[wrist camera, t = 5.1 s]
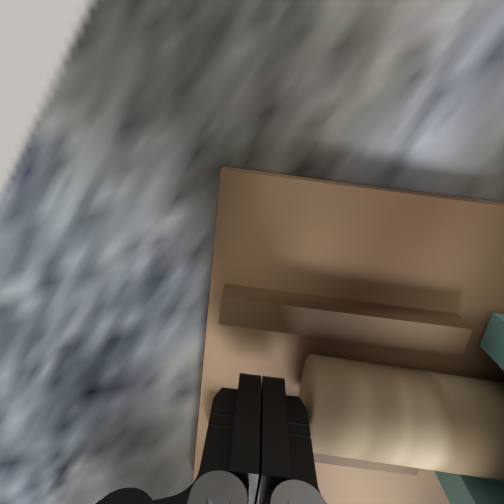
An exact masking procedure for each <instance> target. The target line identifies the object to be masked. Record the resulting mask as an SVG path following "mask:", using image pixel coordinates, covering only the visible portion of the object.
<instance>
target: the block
mask: <svg viewBox="0 0 504 504" xmlns="http://www.w3.org/2000/svg"><path fill="white" fill-rule="evenodd" d="M480 346H481V347H482V348H483V350H484V351H485V352H486V353H487V354H488V355H489V356H490V357H491V358H492V359H493V360H494V361H495V362H496V363H497V364H498V365H499V367H500V368H501V369H502V370H503V371H504V314H499V313H492V316H491V318H490V321H489V324H488V326H487V329H486V331H485V334H484V336H483V339H482V341H481V344H480ZM435 473H436V475H437V477H438V480H439V482H440V484H441V486H442V488H443V490H444V492H445V494H446V497H447V499H448V501H449V503H450V504H504V481H502V480H495V479H488V478H481V477H474V476H468V475H461V474H454V473H447V472H440V471H435Z"/></svg>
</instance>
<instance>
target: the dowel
mask: <svg viewBox="0 0 504 504" xmlns="http://www.w3.org/2000/svg"><path fill="white" fill-rule="evenodd" d="M299 397H300V399H301V400H302V402H303V404H304V405H305V407H306V408H307V412H308V419H309V426H310V433H311V440H312V448H313V453H317V454H324V455H331V456H338V457H345V458H351V459H358V460H365V461H372V462H379V463H386V464H392V465H399V466H406V467H413V468H420V469H427V470H433V471H440V472H447V473H454V474H461V475H468V476H474V477H481V478H488V479H495V480H502V481H504V383H503V382H497V381H490V380H483V379H476V378H470V377H463V376H456V375H449V374H443V373H436V372H429V371H422V370H416V369H409V368H402V367H395V366H389V365H382V364H375V363H369V362H362V361H355V360H348V359H342V358H335V357H328V356H321V355H315V354H310V355H308V357H307V359H306V361H305V364H304V367H303V371H302V376H301V382H300V389H299Z"/></svg>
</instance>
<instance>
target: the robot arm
mask: <svg viewBox="0 0 504 504" xmlns="http://www.w3.org/2000/svg"><path fill="white" fill-rule="evenodd" d="M96 504H327V503H326V502H325V500H324V498H323V497H322V495H321V493H320V491H319V488H318V483H317V476H316V469H315V462H314V455H313V448H312V440H311V433H310V426H309V419H308V412H307V408H306V407H305V405H304V404H303V402H302V400H301V399H300V397H297V396H289V395H286V390H285V379H284V378H278V377H269V376H262V381H261V375H253V374H244V373H240V375H239V383H238V389H232V388H224V387H222V388H221V389H220V390H219V392H218V393H217V394H216V395H215V397H214V398H213V402H212V407H211V413H210V418H209V423H208V428H207V433H206V438H205V443H204V448H203V454H202V459H201V464H200V469H199V472H198V475H197V477H196V479H195V480H194V482H193V483H192V484H191V485H190V486H189V487H188V488H187V489H186V490H184V491H183V492H181V493H179V494H177V495H175V496H171V497H167V498H163V499H158V500H154V501H152V499H151V498H150V496H149V495H148V494H147V493H145V492H144V491H142V490H140V489H137V488H122V489H119V490H116V491H114V492H111V493H110V494H108V495H107V496H105V497H104V498H103V499H101V500H100V501H98V502H97V503H96Z"/></svg>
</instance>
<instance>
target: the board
mask: <svg viewBox="0 0 504 504" xmlns="http://www.w3.org/2000/svg"><path fill="white" fill-rule="evenodd" d="M492 313H499V314H504V202H496V201H488V200H480V199H472V198H465V197H457V196H449V195H441V194H433V193H426V192H418V191H410V190H402V189H394V188H387V187H379V186H371V185H363V184H355V183H348V182H340V181H332V180H324V179H316V178H309V177H301V176H293V175H285V174H277V173H270V172H262V171H254V170H246V169H238V168H231V167H223V168H222V169H221V170H220V180H219V192H218V203H217V214H216V226H215V237H214V248H213V259H212V271H211V282H210V293H209V305H208V316H207V327H206V339H205V350H204V361H203V373H202V384H201V395H200V406H199V418H198V429H197V440H196V452H195V463H194V474H193V482H194V480H195V479H196V477H197V475H198V472H199V469H200V464H201V459H202V454H203V448H204V443H205V438H206V433H207V428H208V423H209V418H210V413H211V407H212V402H213V398H214V397H215V395H216V394H217V393H218V392H219V390H220V389H221V388H222V387H224V388H232V389H238V383H239V375H240V373H244V374H253V375H261V381H262V376H269V377H278V378H284V379H285V390H286V395H289V396H297V397H299V389H300V382H301V376H302V371H303V367H304V364H305V361H306V359H307V357H308V355H310V354H315V355H321V356H328V357H335V358H342V359H348V360H355V361H362V362H369V363H375V364H382V365H389V366H395V367H402V368H409V369H416V370H422V371H429V372H436V373H443V374H449V375H456V376H463V377H470V378H476V379H483V380H490V381H497V382H503V383H504V371H503V370H502V369H501V368H500V367H499V365H498V364H497V363H496V362H495V361H494V360H493V359H492V358H491V357H490V356H489V355H488V354H487V353H486V352H485V351H484V350H483V348H482V347H481V346H480V344H481V341H482V339H483V336H484V334H485V331H486V329H487V326H488V324H489V321H490V318H491V316H492ZM313 455H314V462H315V469H316V476H317V483H318V488H319V491H320V493H321V495H322V497H323V498H324V500H325V502H326V503H327V504H450V503H449V501H448V499H447V497H446V494H445V492H444V490H443V488H442V486H441V484H440V482H439V480H438V477H437V475H436V473H435V471H433V470H427V469H420V468H413V467H406V466H399V465H392V464H386V463H379V462H372V461H365V460H358V459H351V458H345V457H338V456H331V455H324V454H317V453H313Z"/></svg>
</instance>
